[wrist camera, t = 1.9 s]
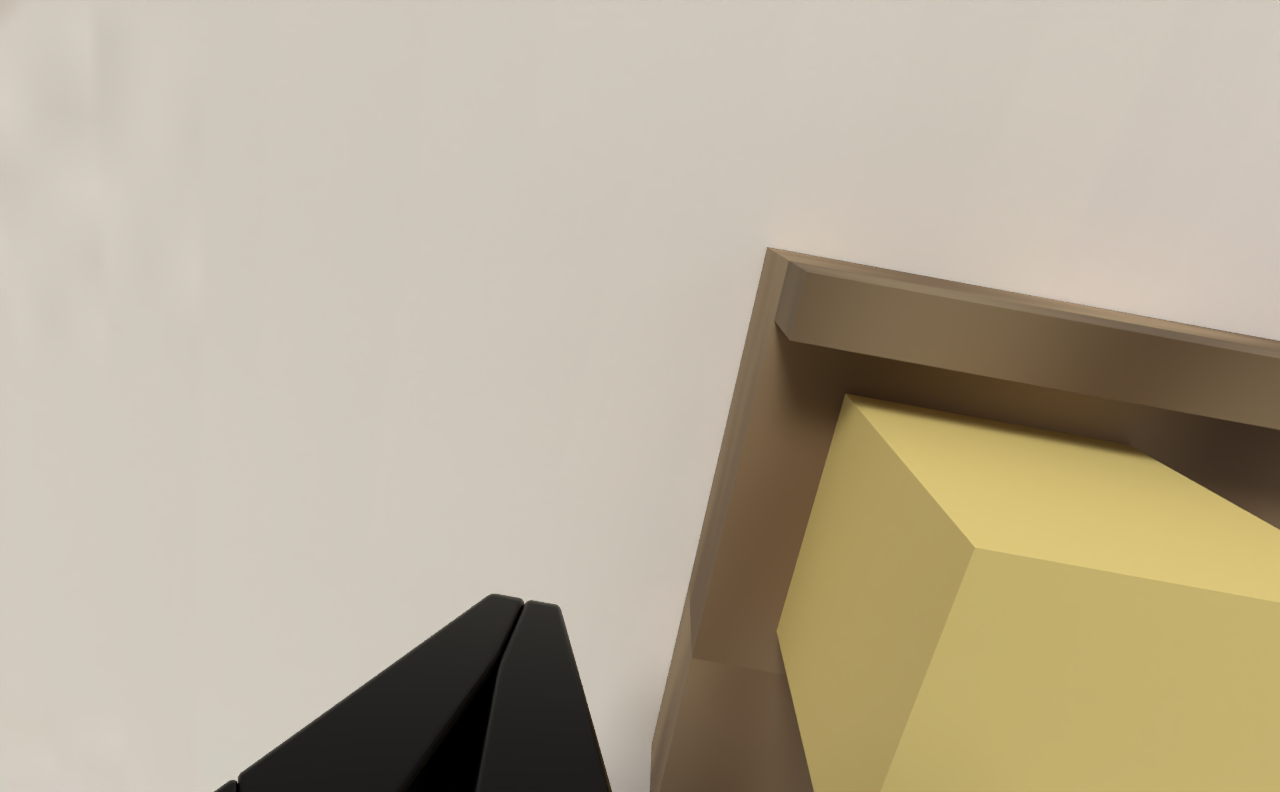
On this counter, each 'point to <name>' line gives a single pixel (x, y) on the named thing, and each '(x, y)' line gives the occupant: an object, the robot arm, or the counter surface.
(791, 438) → the deck
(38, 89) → the counter surface
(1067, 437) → the block
